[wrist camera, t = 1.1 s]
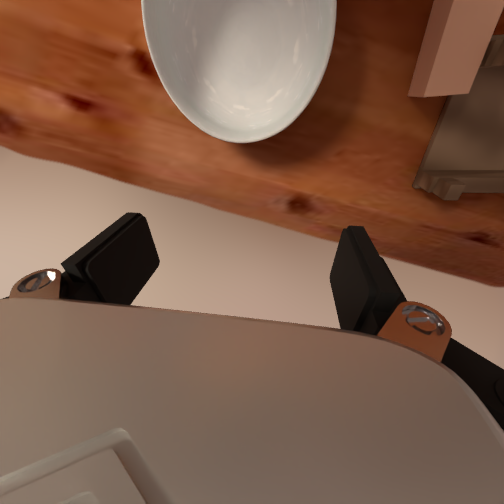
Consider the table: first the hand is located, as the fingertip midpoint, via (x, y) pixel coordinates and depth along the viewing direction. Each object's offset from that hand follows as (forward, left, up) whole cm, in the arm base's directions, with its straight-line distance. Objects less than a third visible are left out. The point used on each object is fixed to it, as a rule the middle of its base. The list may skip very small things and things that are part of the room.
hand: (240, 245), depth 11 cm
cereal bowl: (-10, -3, -24) cm, 26 cm away
